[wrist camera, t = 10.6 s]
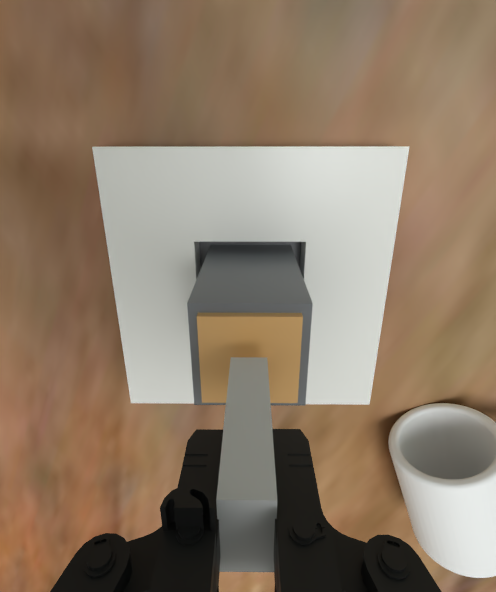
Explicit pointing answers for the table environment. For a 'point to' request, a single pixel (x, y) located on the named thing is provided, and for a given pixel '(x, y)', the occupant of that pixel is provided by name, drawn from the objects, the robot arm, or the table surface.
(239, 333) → the plug
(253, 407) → the robot arm
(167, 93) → the table surface
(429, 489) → the mug
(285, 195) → the socket plate
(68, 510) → the table surface
